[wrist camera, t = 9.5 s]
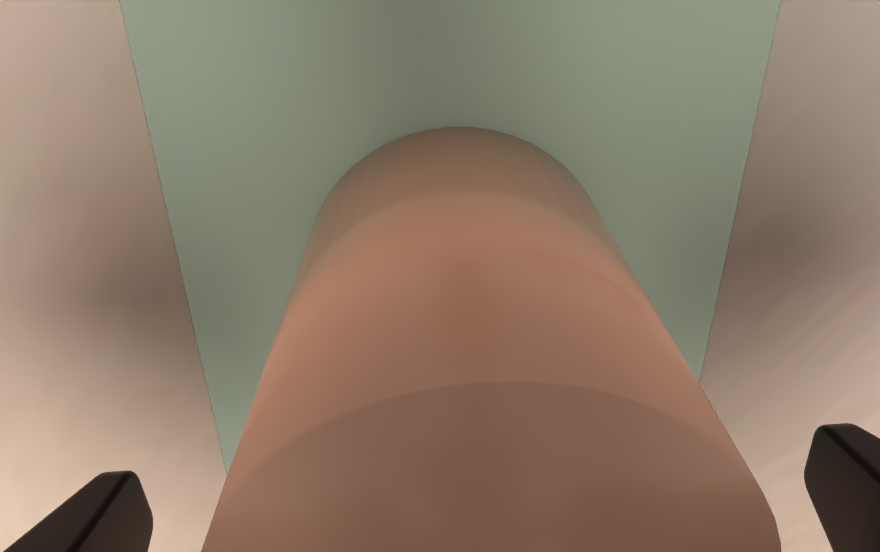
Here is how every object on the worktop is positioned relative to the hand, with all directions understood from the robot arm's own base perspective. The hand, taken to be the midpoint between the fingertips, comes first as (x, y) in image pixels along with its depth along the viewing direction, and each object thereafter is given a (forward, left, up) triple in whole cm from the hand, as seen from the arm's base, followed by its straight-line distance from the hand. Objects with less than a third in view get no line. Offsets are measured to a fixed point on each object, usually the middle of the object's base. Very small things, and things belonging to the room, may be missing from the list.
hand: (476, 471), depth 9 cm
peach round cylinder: (0, 0, -5) cm, 5 cm away
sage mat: (0, 0, -6) cm, 6 cm away
